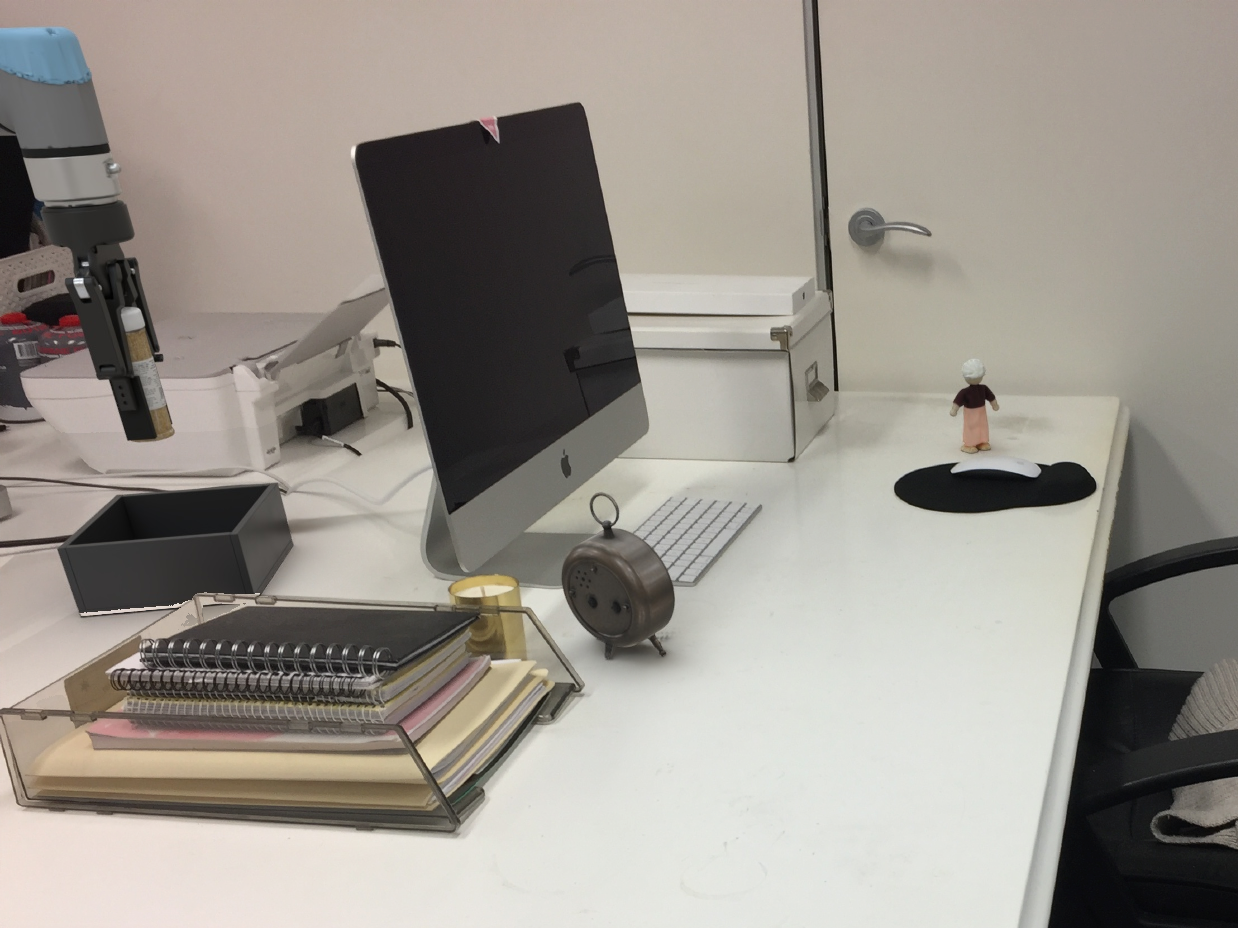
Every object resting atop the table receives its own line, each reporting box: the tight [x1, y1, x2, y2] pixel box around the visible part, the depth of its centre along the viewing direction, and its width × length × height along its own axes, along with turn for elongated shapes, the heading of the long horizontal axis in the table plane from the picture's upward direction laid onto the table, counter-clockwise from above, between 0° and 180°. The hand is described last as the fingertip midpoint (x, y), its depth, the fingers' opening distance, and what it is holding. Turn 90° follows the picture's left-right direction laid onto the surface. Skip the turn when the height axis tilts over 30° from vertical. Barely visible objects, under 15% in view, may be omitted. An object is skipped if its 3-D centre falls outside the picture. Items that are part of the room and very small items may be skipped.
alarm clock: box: [561, 491, 676, 660], centre depth 124 cm, size 11×5×16 cm, turn 59°
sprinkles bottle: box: [121, 307, 176, 443], centre depth 137 cm, size 5×5×13 cm
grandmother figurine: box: [949, 358, 1000, 454], centre depth 181 cm, size 8×4×13 cm, turn 130°
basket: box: [56, 482, 295, 614], centre depth 146 cm, size 18×18×8 cm
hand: (150, 431), depth 140 cm, fingers closed on sprinkles bottle, 4 cm apart
